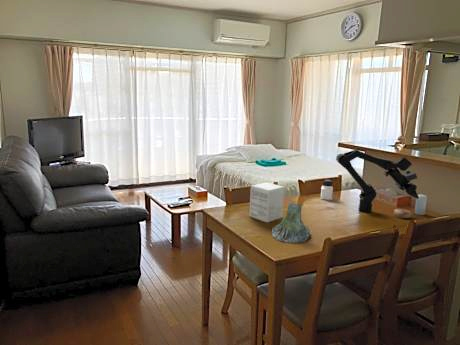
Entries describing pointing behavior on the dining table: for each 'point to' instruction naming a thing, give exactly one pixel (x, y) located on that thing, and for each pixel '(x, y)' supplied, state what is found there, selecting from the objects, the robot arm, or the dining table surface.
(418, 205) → the pale blue small block
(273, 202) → the supplement box
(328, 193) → the medicine bottle
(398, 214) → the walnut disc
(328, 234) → the dining table surface
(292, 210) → the tree stump
